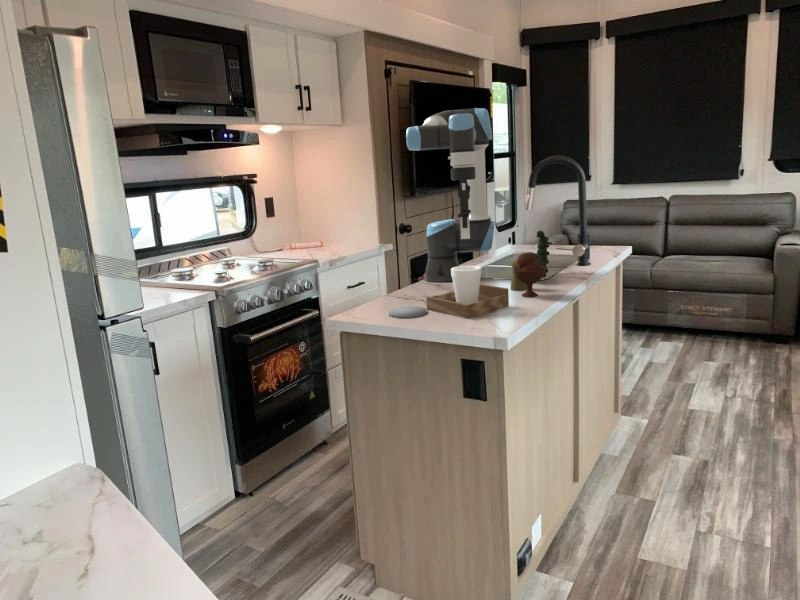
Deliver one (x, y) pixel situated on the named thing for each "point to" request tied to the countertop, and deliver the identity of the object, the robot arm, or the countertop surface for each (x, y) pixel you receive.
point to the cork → (516, 280)
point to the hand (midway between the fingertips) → (465, 236)
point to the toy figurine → (542, 250)
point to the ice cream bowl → (529, 272)
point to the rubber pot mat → (407, 312)
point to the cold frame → (487, 302)
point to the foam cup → (466, 283)
